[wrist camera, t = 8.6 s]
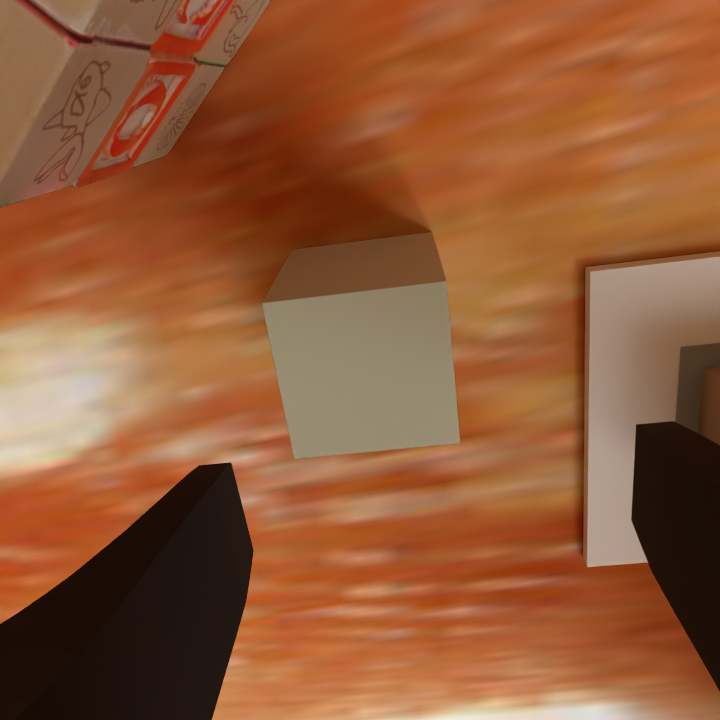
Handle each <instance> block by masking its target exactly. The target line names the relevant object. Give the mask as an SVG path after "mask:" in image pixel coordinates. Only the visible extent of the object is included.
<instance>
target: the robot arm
mask: <svg viewBox="0 0 720 720" xmlns="http://www.w3.org/2000/svg"><path fill="white" fill-rule="evenodd" d="M631 521H632V523H633V526H634V529H635V531H636V534H637V536H638V539H639V542H640V544H641V547H642V549H643V552H644V554H645V556H646V559H647V561H648V563H649V566H650V568H651V571H652V573H653V574H654V576H655V578H656V580H657V582H658V584H659V585H660V587H661V589H662V591H663V592H664V594H665V596H666V598H667V600H668V601H669V603H670V605H671V607H672V608H673V610H674V612H675V614H676V616H677V617H678V619H679V621H680V622H681V624H682V626H683V628H684V629H685V631H686V633H687V635H688V636H689V638H690V640H691V642H692V643H693V645H694V647H695V649H696V650H697V652H698V654H699V656H700V657H701V659H702V661H703V663H704V664H705V666H706V668H707V670H708V671H709V673H710V675H711V677H712V678H713V680H714V682H715V684H716V685H717V687H718V689H719V691H720V445H719V444H717V443H715V442H713V441H711V440H709V439H707V438H706V437H704V436H702V435H700V434H698V433H696V432H694V431H692V430H691V429H689V428H687V427H685V426H683V425H680V424H678V423H676V422H674V421H668V422H657V423H647V424H636V437H635V456H634V475H633V495H632V514H631ZM252 558H253V547H252V543H251V539H250V535H249V531H248V527H247V523H246V519H245V515H244V511H243V507H242V503H241V499H240V495H239V492H238V488H237V484H236V480H235V476H234V472H233V468H232V464H231V463H221V464H211V465H200V466H198V467H197V468H195V469H194V470H193V471H191V472H190V473H189V474H188V475H187V476H186V477H184V478H183V479H182V480H181V481H180V482H179V483H178V484H177V485H175V486H174V487H173V488H172V489H171V490H170V491H169V492H168V493H167V494H166V495H164V496H163V497H162V498H161V499H160V500H159V501H158V502H157V503H156V504H155V505H153V506H152V507H151V508H150V509H149V510H148V511H147V512H146V513H145V514H143V515H142V516H141V517H140V518H139V519H138V520H137V521H136V522H135V523H133V524H132V525H131V526H130V527H129V528H128V529H127V530H126V531H124V532H123V533H122V534H121V535H120V536H118V537H117V538H116V539H115V540H114V541H112V542H111V543H110V544H109V545H108V546H106V547H105V548H104V549H103V550H101V551H100V552H99V553H98V554H97V555H95V556H94V557H93V558H92V559H91V560H89V561H88V562H87V563H86V564H84V565H83V566H82V567H81V568H80V569H78V570H77V571H76V572H75V573H73V574H72V575H71V576H69V577H68V578H67V579H65V580H64V581H63V582H61V583H60V584H59V585H57V586H56V587H55V588H53V589H52V590H50V591H49V592H48V593H46V594H45V595H43V596H42V597H40V598H39V599H37V600H36V601H35V602H33V603H32V604H30V605H29V606H27V607H26V608H25V609H23V610H22V611H20V612H19V613H17V614H16V615H14V616H13V617H11V618H10V619H8V620H6V621H5V622H3V623H1V624H0V720H212V717H213V713H214V710H215V707H216V703H217V700H218V696H219V693H220V690H221V686H222V683H223V679H224V676H225V673H226V669H227V666H228V662H229V659H230V656H231V652H232V649H233V646H234V642H235V639H236V635H237V632H238V628H239V625H240V621H241V618H242V614H243V610H244V607H245V603H246V598H247V592H248V586H249V580H250V573H251V566H252Z"/></svg>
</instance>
